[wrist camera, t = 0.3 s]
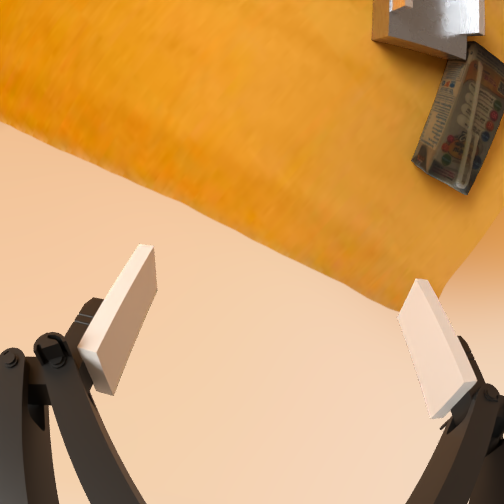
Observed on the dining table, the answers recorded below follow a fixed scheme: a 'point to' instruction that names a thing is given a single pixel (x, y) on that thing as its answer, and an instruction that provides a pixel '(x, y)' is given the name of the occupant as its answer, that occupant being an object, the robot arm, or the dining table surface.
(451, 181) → the beverage carton
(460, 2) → the motor
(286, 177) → the dining table surface
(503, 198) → the dining table surface
